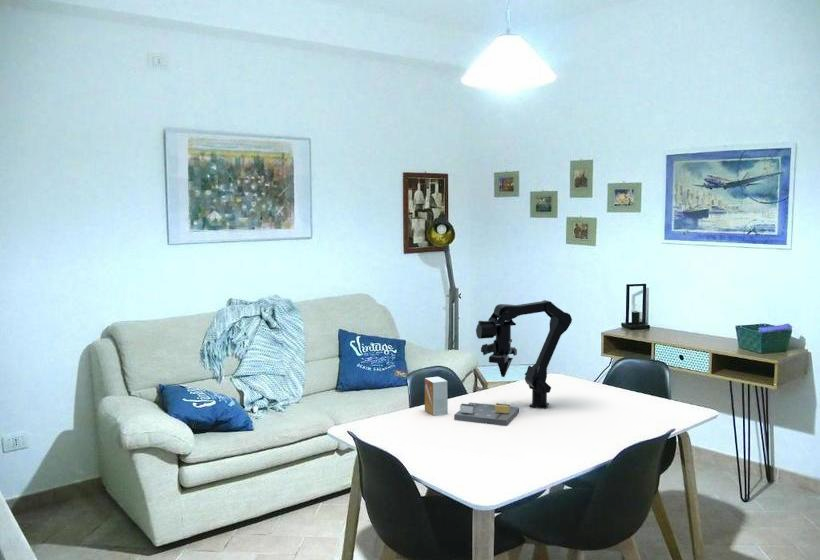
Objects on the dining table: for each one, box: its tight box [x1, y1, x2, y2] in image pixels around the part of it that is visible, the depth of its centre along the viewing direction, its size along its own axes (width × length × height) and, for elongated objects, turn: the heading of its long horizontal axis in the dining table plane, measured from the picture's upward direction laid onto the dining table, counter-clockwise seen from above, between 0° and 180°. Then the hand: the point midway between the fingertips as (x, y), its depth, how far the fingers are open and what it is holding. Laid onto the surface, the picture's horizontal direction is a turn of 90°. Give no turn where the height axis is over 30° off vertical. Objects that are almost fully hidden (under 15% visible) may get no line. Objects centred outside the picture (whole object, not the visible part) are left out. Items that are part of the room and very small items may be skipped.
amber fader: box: [494, 402, 511, 413], centre depth 271 cm, size 3×5×3 cm, turn 67°
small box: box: [424, 376, 449, 416], centre depth 279 cm, size 8×6×13 cm
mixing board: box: [453, 402, 520, 427], centre depth 274 cm, size 18×20×2 cm
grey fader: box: [459, 403, 475, 414], centre depth 271 cm, size 3×5×3 cm, turn 67°
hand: (503, 376), depth 281 cm, fingers closed
